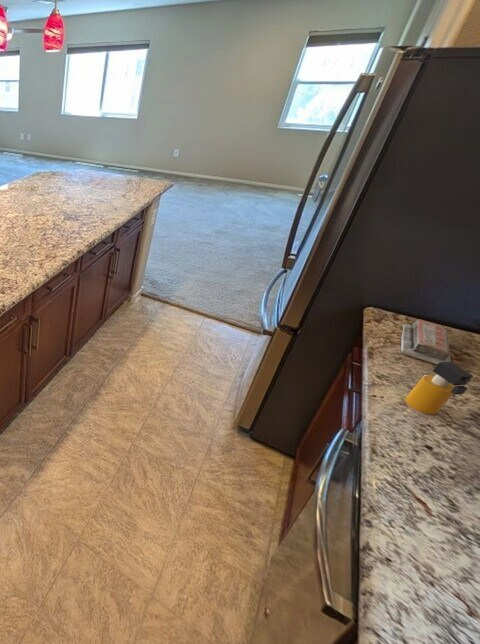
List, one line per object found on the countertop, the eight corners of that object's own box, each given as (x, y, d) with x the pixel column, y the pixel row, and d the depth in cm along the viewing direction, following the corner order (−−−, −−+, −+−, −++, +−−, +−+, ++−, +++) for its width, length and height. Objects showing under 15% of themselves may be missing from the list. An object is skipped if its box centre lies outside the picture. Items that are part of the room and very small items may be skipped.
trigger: (450, 391, 91) (455, 385, 90) (458, 391, 91) (463, 385, 90) (454, 394, 91) (459, 388, 90) (462, 394, 91) (467, 388, 90)
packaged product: (409, 314, 123) (455, 327, 117) (401, 326, 125) (446, 340, 119) (408, 341, 112) (459, 357, 106) (399, 353, 114) (448, 370, 108)
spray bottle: (398, 397, 101) (429, 359, 94) (419, 396, 101) (451, 358, 94) (424, 417, 95) (459, 378, 88) (446, 416, 95) (482, 377, 88)
